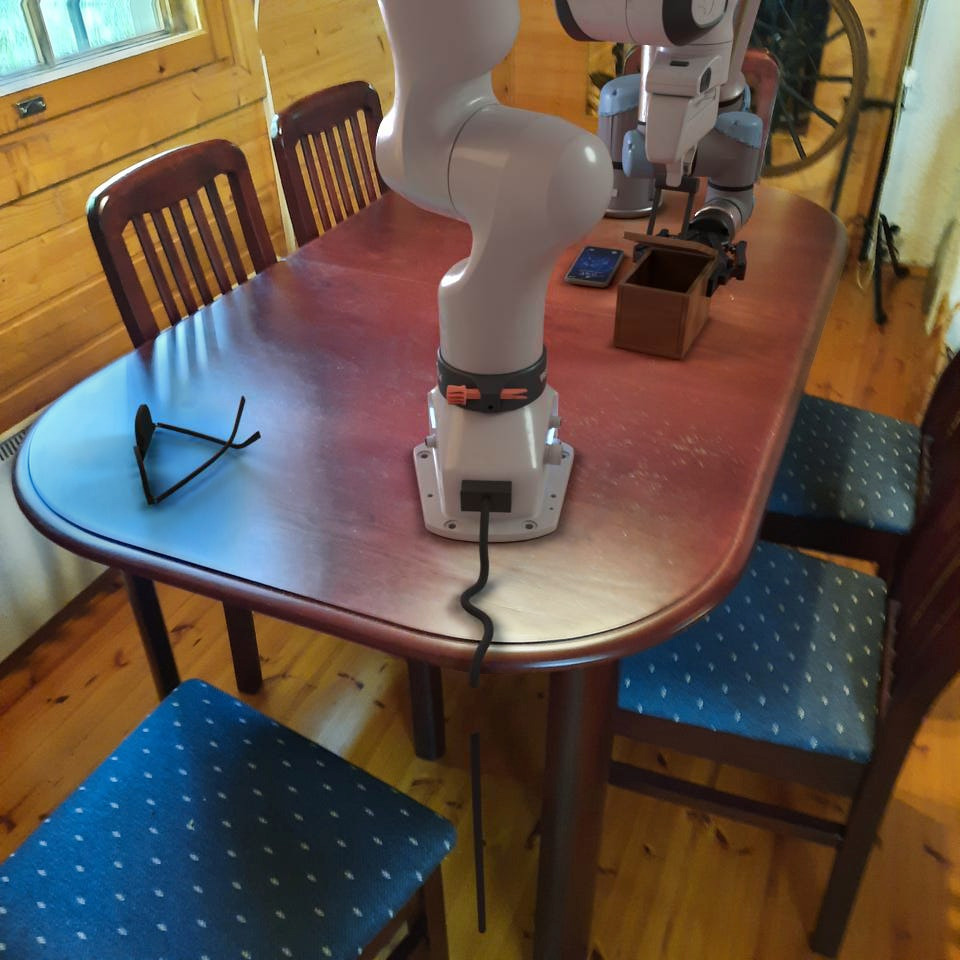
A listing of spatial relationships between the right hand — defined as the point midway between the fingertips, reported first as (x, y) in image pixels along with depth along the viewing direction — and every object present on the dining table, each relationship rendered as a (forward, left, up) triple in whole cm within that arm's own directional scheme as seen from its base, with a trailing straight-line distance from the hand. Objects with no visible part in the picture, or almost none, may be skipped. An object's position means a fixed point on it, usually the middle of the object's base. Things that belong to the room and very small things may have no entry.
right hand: (673, 282), depth 124 cm
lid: (+3, -1, +6) cm, 7 cm away
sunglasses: (+35, -60, -6) cm, 70 cm away
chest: (+3, -1, -6) cm, 7 cm away
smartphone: (-20, -9, -6) cm, 23 cm away
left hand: (+4, -2, +16) cm, 16 cm away
